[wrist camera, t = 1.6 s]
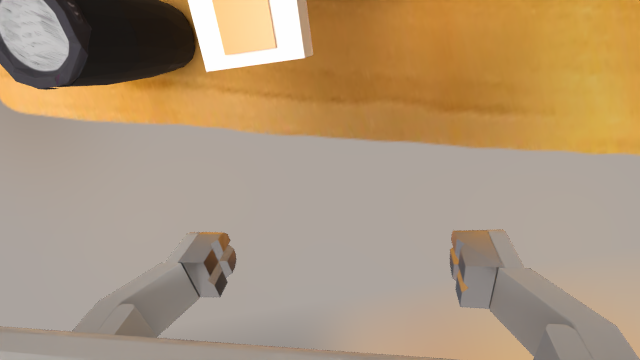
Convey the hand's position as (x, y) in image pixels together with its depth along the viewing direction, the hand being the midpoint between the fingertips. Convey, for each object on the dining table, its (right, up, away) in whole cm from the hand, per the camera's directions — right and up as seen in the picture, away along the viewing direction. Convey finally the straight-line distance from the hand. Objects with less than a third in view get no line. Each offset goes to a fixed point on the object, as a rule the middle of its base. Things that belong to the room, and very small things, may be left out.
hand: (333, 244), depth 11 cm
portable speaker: (-20, +21, +29) cm, 41 cm away
